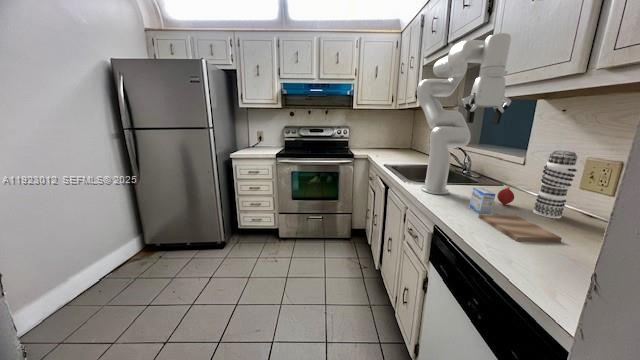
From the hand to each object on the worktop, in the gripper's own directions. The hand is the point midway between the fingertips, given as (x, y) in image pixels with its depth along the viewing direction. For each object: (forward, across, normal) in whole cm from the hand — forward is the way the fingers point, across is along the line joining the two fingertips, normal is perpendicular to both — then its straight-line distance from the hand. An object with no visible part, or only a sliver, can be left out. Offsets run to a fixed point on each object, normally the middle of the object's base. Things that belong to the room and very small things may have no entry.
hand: (482, 123), depth 93 cm
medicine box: (+34, -5, 0) cm, 35 cm away
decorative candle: (+34, -31, +2) cm, 46 cm away
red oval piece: (+34, -21, -8) cm, 41 cm away
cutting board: (+34, -7, +16) cm, 39 cm away
